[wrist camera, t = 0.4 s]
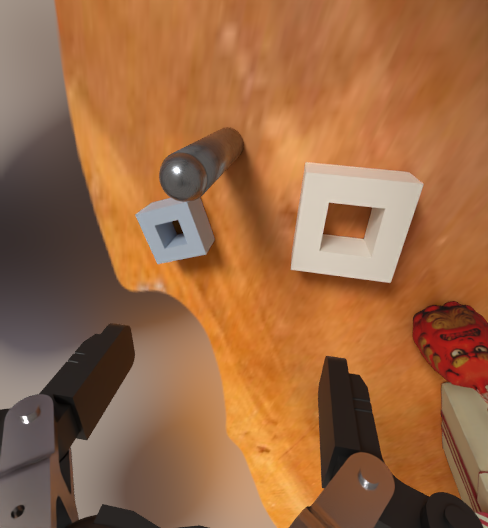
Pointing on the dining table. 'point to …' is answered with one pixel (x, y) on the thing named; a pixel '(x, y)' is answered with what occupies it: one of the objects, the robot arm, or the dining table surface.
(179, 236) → the blue-grey square-hole block
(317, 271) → the white square-hole block
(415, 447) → the dining table surface
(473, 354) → the red clay folk toy
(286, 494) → the dining table surface
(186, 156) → the grey metal peg
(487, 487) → the gift box
